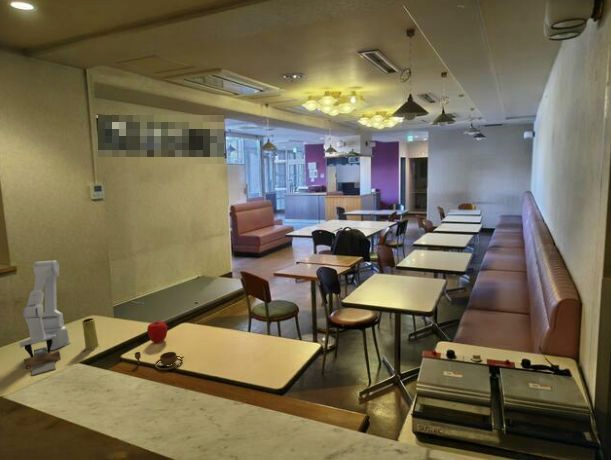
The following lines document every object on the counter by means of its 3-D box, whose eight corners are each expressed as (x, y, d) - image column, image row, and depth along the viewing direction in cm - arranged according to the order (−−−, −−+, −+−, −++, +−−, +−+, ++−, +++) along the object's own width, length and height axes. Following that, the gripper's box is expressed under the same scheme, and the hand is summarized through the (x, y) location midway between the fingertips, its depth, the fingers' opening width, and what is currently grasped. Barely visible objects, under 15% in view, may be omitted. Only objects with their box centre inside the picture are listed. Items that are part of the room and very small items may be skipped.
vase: (85, 350, 206) (81, 323, 204) (85, 346, 211) (81, 319, 209) (99, 347, 209) (95, 320, 206) (98, 343, 214) (94, 316, 212)
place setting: (160, 377, 177) (158, 364, 176) (133, 366, 189) (131, 354, 188) (193, 360, 191) (191, 348, 190) (166, 350, 203) (164, 339, 202)
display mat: (54, 361, 196) (54, 360, 196) (55, 369, 188) (55, 368, 188) (31, 367, 191) (31, 366, 191) (32, 375, 184) (31, 374, 183)
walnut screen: (60, 358, 199) (59, 350, 199) (60, 359, 198) (59, 351, 198) (25, 367, 192) (23, 359, 191) (25, 368, 191) (23, 360, 190)
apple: (164, 345, 207) (162, 324, 205) (145, 346, 207) (142, 325, 205) (171, 337, 217) (169, 317, 215) (153, 337, 217) (150, 318, 215)
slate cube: (47, 356, 202) (45, 346, 201) (47, 360, 198) (46, 350, 197) (35, 359, 200) (33, 349, 199) (35, 363, 195) (33, 353, 194)
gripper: (17, 337, 189) (22, 365, 191) (54, 328, 197) (59, 355, 199) (18, 332, 195) (23, 359, 197) (53, 324, 202) (58, 350, 205)
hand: (41, 357), depth 198 cm, fingers open, 6 cm apart
